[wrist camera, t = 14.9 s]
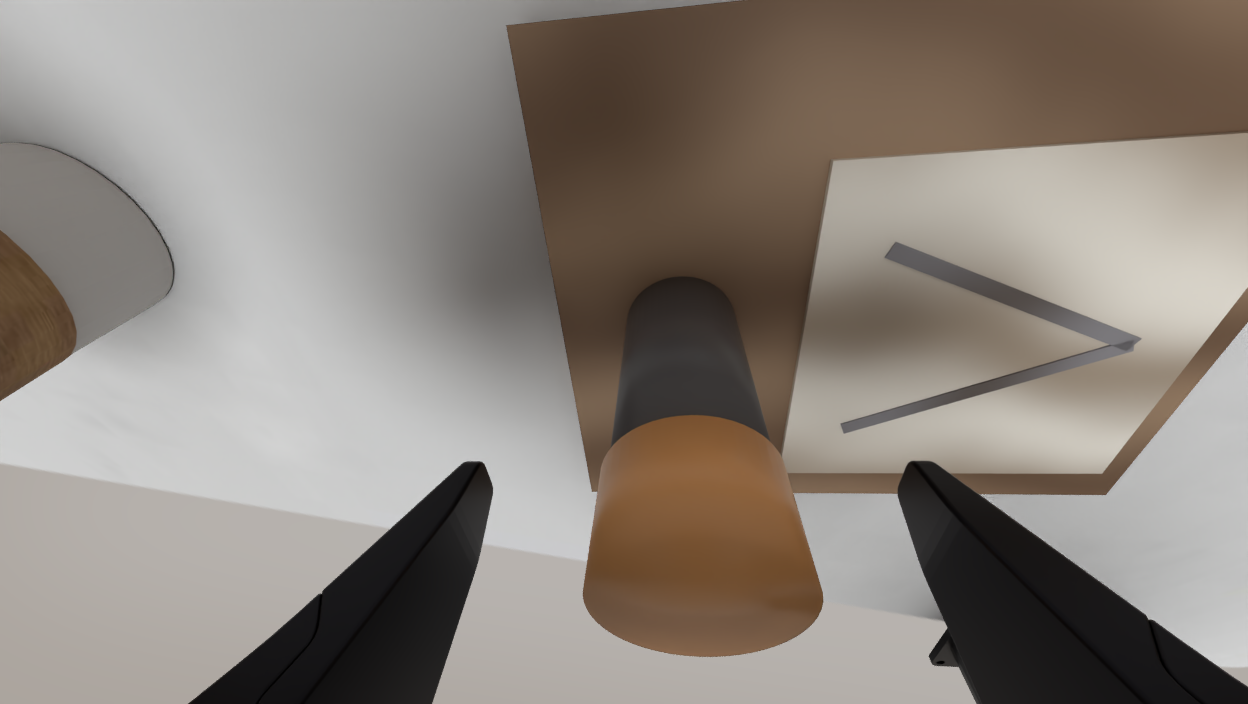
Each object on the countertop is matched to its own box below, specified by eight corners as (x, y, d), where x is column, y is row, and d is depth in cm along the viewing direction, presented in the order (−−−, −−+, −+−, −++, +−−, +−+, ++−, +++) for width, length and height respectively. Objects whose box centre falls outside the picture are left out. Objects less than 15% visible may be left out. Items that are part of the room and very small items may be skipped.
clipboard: (1082, 471, 19) (1111, 500, 18) (595, 470, 21) (591, 496, 20) (1486, -74, 9) (1609, -93, 8) (519, 27, 11) (503, 24, 10)
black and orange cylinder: (736, 371, 16) (803, 661, 8) (626, 373, 16) (596, 651, 9) (744, 269, 13) (846, 537, 6) (617, 274, 14) (566, 533, 6)
